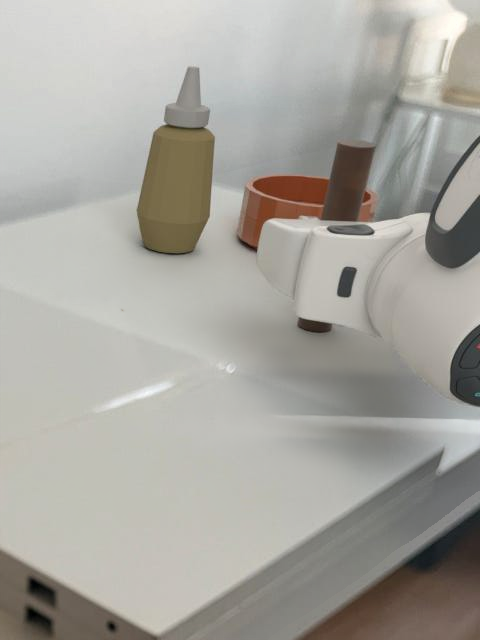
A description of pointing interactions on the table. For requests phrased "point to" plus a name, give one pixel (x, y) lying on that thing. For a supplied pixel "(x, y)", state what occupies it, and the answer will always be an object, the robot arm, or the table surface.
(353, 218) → the stirring stick
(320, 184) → the bowl
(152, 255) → the table surface
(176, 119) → the squeeze bottle
